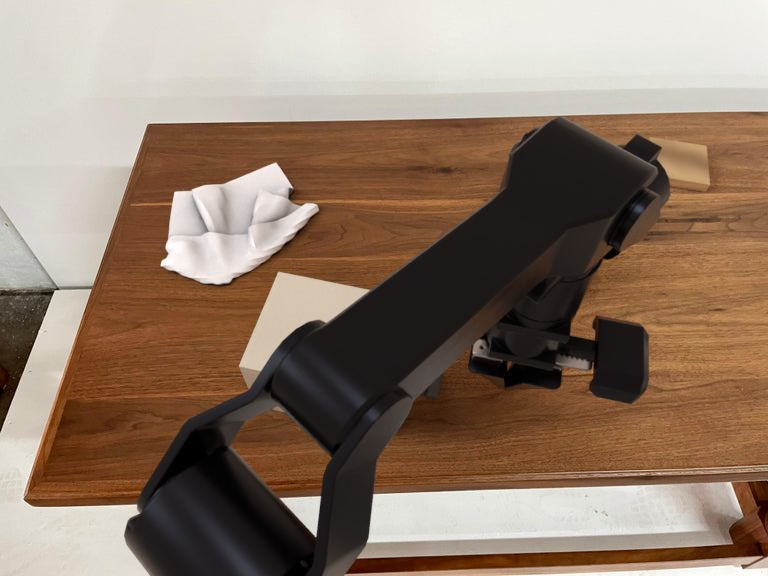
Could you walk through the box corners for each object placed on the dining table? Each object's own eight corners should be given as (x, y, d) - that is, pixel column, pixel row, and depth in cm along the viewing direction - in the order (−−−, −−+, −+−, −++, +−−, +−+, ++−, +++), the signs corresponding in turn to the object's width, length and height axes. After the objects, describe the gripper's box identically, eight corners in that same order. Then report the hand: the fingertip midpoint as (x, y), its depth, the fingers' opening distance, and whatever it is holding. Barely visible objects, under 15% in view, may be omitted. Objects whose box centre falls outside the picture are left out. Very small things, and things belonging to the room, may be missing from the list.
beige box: (400, 341, 70) (402, 296, 62) (376, 434, 64) (375, 396, 56) (289, 318, 72) (278, 271, 64) (255, 406, 66) (238, 366, 58)
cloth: (145, 284, 75) (138, 273, 73) (185, 160, 87) (180, 147, 85) (308, 289, 74) (306, 278, 72) (325, 164, 87) (323, 152, 85)
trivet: (705, 192, 84) (710, 184, 83) (646, 182, 85) (650, 174, 84) (702, 153, 88) (706, 145, 87) (646, 144, 89) (649, 136, 88)
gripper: (678, 224, 44) (611, 330, 57) (430, 181, 47) (420, 292, 60) (684, 354, 38) (608, 440, 51) (398, 296, 41) (394, 393, 54)
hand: (503, 384), depth 54 cm, fingers closed
